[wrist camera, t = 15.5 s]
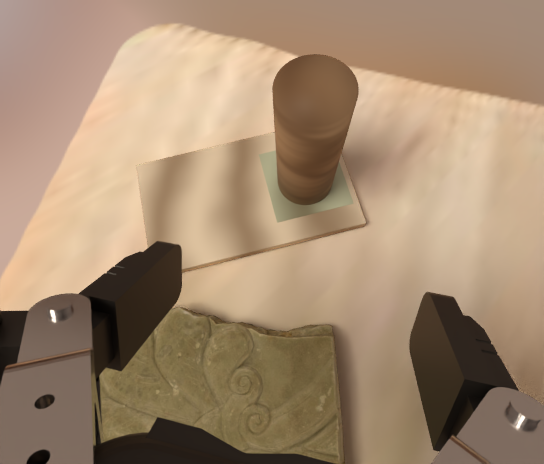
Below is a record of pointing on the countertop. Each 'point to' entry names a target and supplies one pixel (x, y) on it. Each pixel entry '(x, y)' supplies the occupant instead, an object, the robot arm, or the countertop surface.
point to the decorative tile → (232, 386)
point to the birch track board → (236, 203)
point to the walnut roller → (311, 124)
